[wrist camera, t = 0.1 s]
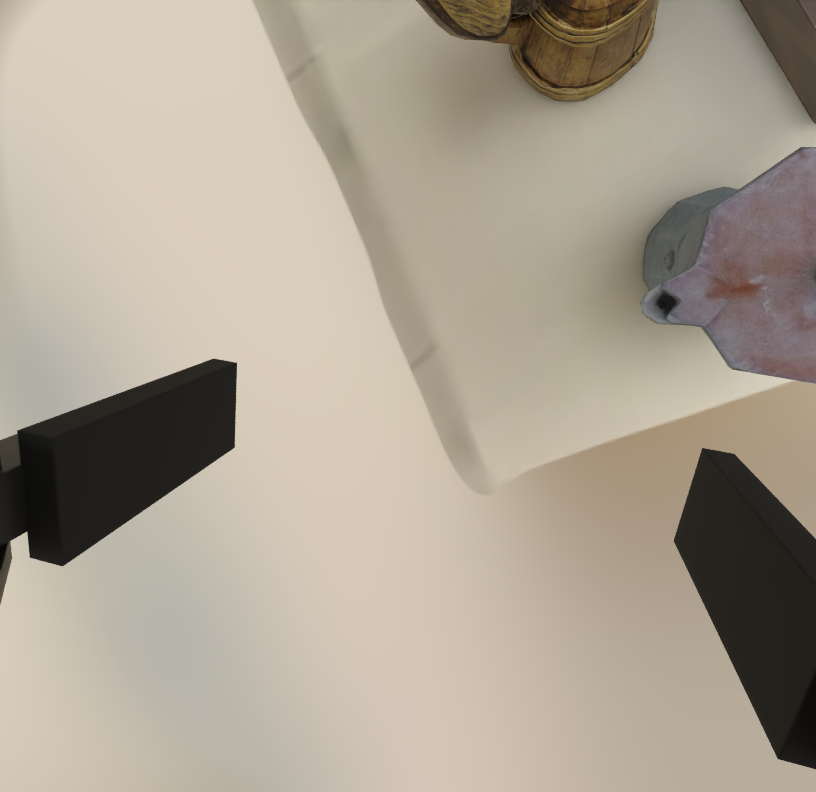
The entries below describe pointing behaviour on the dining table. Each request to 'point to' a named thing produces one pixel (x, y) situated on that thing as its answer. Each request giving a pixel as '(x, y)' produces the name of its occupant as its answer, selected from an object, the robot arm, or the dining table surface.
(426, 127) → the dining table surface
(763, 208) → the moka pot
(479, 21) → the wooden mug
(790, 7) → the peg box
